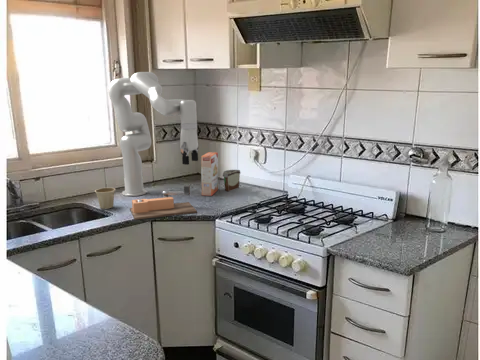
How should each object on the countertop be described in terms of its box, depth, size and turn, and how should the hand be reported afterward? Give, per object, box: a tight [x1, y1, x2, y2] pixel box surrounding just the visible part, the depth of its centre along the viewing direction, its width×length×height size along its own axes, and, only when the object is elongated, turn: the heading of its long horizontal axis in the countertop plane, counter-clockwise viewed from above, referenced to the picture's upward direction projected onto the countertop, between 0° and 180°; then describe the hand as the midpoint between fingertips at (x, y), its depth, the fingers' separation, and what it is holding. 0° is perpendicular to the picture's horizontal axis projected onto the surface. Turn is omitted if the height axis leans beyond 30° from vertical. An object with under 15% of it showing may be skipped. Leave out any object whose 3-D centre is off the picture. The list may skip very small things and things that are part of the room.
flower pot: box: [94, 187, 116, 210], centre depth 224 cm, size 9×9×9 cm
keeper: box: [162, 184, 191, 196], centre depth 222 cm, size 13×3×4 cm, turn 85°
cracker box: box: [200, 151, 219, 197], centre depth 248 cm, size 14×6×21 cm, turn 168°
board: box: [129, 201, 198, 221], centre depth 217 cm, size 16×28×1 cm, turn 110°
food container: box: [222, 169, 242, 192], centre depth 256 cm, size 12×6×10 cm, turn 144°
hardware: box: [138, 195, 170, 202], centre depth 219 cm, size 2×16×5 cm, turn 130°
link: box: [131, 196, 175, 213], centre depth 217 cm, size 18×6×4 cm, turn 110°
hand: (190, 162), depth 224 cm, fingers open, 9 cm apart
